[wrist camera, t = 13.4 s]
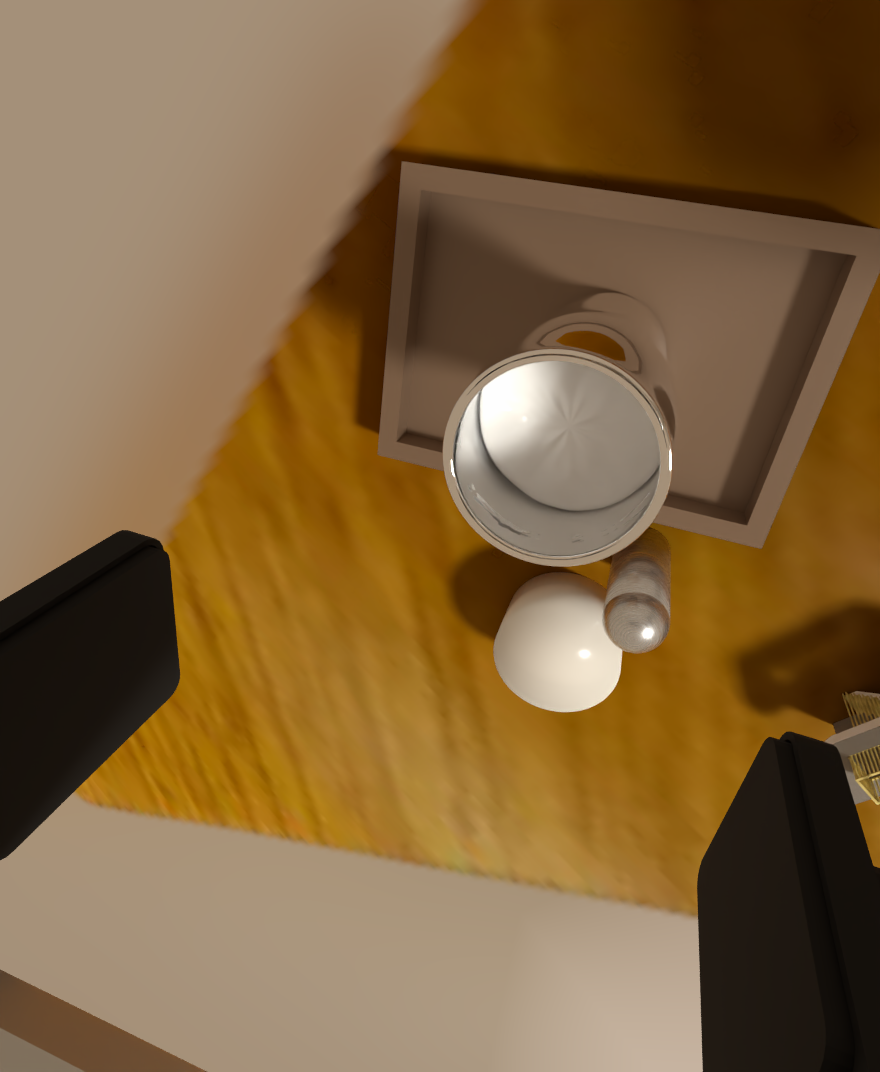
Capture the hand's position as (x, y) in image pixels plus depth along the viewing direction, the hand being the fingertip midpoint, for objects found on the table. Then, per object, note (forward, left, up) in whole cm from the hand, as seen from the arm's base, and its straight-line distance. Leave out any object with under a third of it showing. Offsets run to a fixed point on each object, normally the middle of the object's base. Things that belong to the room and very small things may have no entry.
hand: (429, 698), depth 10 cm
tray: (0, 0, -26) cm, 26 cm away
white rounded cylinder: (-2, +16, -26) cm, 31 cm away
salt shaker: (-5, +10, -26) cm, 28 cm away
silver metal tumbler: (0, 0, -25) cm, 25 cm away
